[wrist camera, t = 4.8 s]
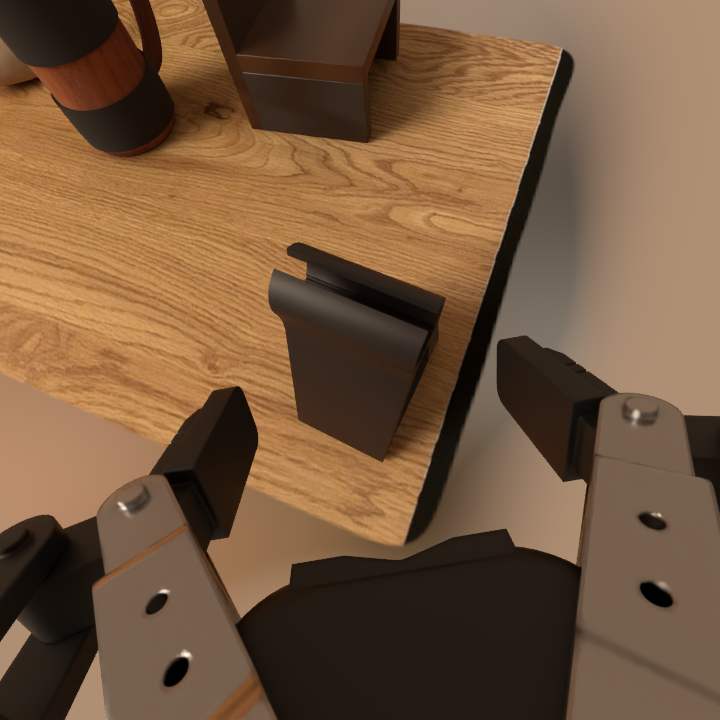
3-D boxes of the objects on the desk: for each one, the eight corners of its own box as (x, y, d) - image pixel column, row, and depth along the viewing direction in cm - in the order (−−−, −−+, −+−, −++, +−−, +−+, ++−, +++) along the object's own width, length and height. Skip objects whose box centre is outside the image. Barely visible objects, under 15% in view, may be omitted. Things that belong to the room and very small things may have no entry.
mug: (219, 88, 34) (138, -99, 23) (136, 174, 31) (-2, 7, 20) (156, 64, 36) (54, -119, 25) (73, 142, 33) (-84, -26, 22)
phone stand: (360, 308, 25) (337, 169, 14) (438, 340, 24) (483, 216, 13) (299, 420, 23) (210, 364, 11) (382, 463, 22) (374, 446, 10)
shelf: (399, 51, 34) (403, -115, 24) (367, 143, 30) (358, -9, 21) (293, 42, 35) (258, -116, 26) (251, 128, 32) (194, -19, 22)
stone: (-55, 54, 35) (17, -45, 33) (23, 113, 40) (90, 30, 38) (-72, 62, 31) (8, -48, 30) (17, 125, 36) (90, 35, 35)
